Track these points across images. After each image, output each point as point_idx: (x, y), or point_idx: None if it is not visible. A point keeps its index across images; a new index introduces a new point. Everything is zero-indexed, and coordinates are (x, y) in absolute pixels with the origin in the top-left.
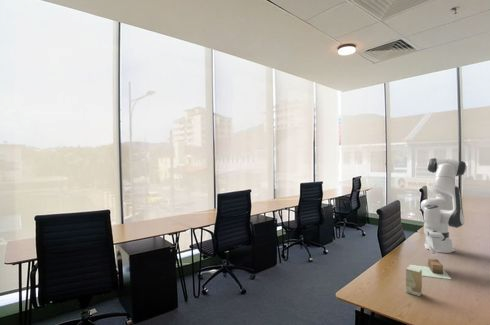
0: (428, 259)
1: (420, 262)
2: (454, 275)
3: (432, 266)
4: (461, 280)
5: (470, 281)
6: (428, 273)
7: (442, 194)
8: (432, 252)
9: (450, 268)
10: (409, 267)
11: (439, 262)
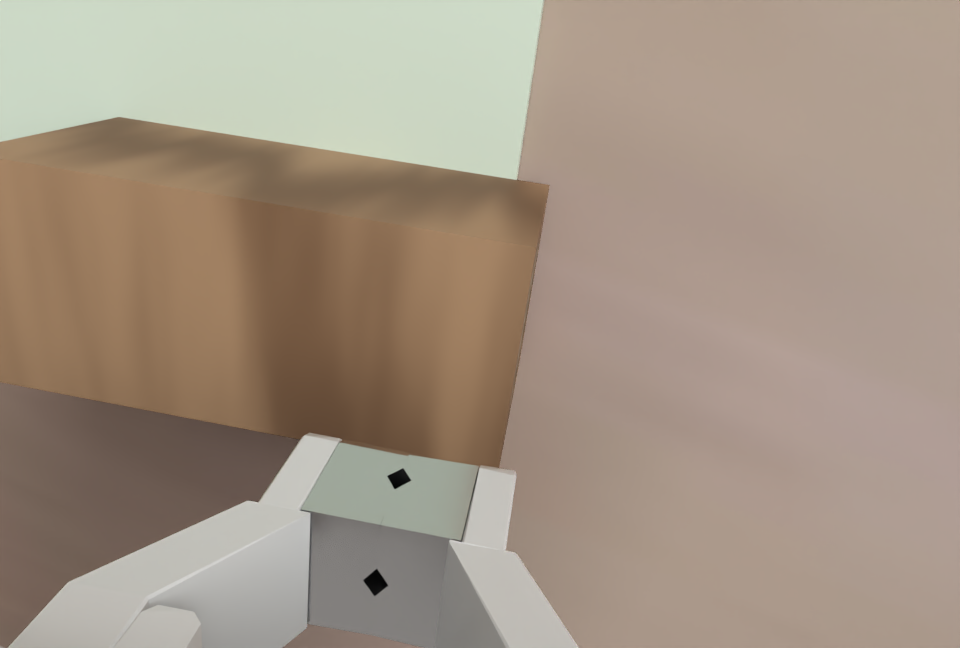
0: (462, 231)
1: (898, 109)
2: (207, 468)
3: (11, 142)
4: (23, 464)
5: (45, 556)
6: (46, 2)
7: None
8: (289, 472)
9: (554, 565)
10: None
11: (234, 415)
